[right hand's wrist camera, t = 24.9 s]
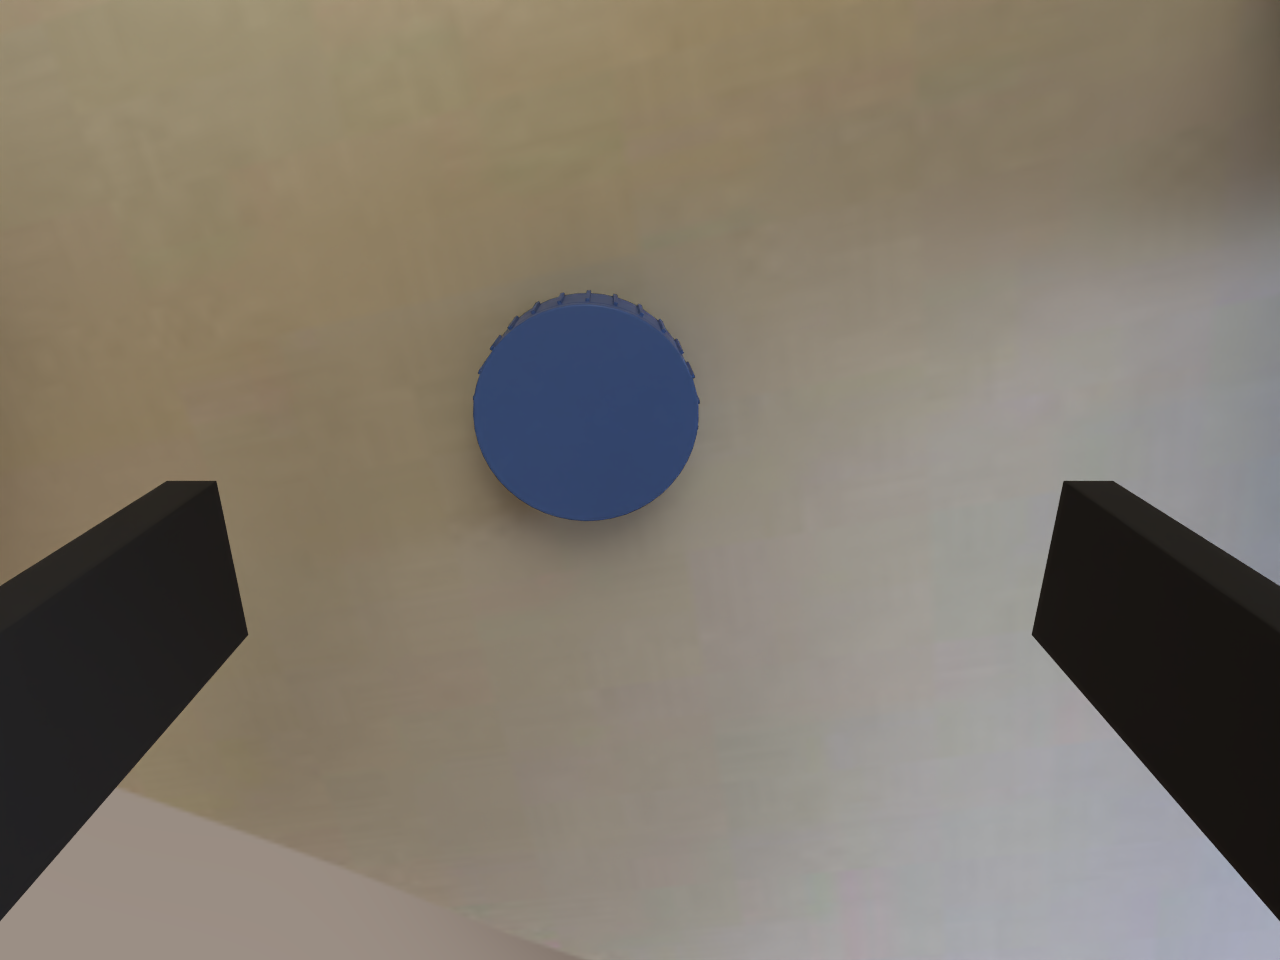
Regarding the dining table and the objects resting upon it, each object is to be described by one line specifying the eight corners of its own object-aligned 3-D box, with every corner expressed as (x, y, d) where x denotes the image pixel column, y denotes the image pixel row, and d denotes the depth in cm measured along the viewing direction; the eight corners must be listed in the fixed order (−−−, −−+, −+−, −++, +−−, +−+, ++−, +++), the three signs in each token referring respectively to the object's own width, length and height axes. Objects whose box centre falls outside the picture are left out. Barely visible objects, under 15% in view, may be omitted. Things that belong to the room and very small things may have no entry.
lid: (465, 301, 21) (451, 314, 19) (685, 279, 21) (693, 289, 19) (500, 503, 23) (489, 534, 21) (700, 483, 23) (708, 511, 21)
